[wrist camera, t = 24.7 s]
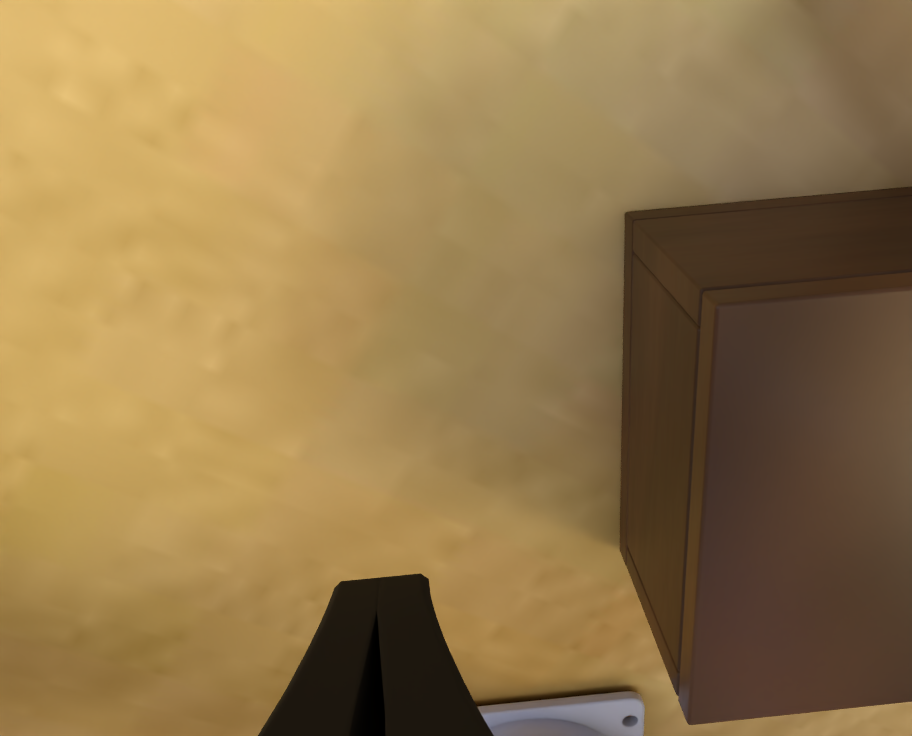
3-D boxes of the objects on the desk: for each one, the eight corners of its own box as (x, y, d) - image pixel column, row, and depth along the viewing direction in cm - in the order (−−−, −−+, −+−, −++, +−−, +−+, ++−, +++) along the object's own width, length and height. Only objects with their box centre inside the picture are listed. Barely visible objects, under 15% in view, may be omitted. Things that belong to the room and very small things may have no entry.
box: (1073, 172, 21) (1297, 235, 16) (988, 513, 26) (1140, 651, 20) (624, 211, 21) (700, 288, 15) (619, 550, 25) (676, 698, 20)
